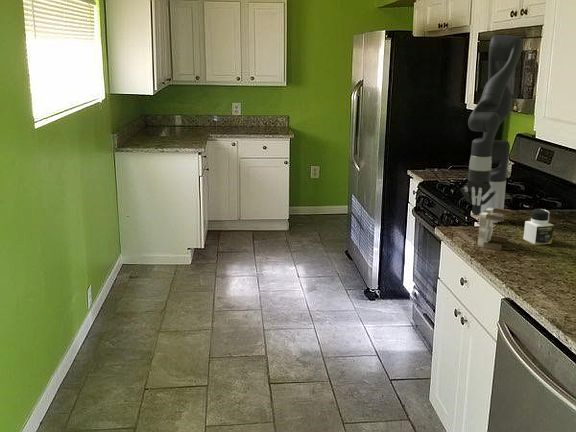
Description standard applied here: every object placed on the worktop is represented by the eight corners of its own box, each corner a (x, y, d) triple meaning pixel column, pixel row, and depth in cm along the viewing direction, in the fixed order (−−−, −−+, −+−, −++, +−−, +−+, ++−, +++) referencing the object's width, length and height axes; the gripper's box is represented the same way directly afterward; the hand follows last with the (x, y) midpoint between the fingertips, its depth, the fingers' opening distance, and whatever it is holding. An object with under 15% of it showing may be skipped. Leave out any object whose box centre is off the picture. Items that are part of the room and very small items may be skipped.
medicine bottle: (535, 245, 220) (538, 213, 217) (522, 239, 227) (526, 208, 224) (551, 243, 222) (555, 211, 219) (539, 237, 229) (542, 207, 226)
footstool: (486, 238, 228) (489, 207, 225) (508, 241, 224) (511, 210, 221) (477, 246, 219) (480, 214, 215) (500, 250, 215) (503, 217, 211)
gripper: (501, 168, 217) (497, 215, 222) (464, 164, 224) (461, 210, 229) (496, 171, 211) (491, 219, 216) (458, 167, 218) (455, 214, 223)
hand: (476, 214), depth 222 cm, fingers closed
